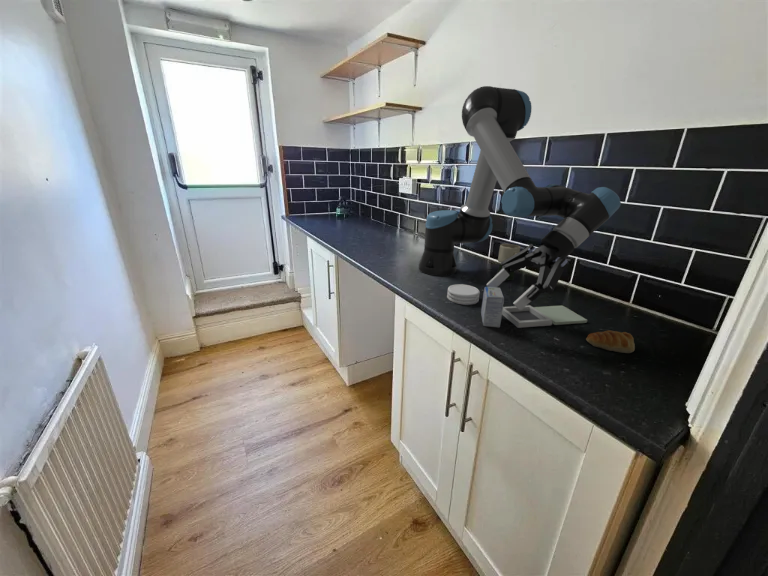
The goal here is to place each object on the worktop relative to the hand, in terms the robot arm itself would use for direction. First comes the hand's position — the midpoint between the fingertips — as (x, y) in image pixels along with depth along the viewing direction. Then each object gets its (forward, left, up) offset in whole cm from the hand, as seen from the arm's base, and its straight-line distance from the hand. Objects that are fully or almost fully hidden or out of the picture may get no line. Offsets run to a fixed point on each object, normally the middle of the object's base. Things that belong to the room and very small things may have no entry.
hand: (501, 296), depth 86 cm
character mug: (-33, +21, -8) cm, 40 cm away
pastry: (+16, +21, -8) cm, 27 cm away
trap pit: (-1, +9, -7) cm, 11 cm away
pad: (-1, +20, -7) cm, 21 cm away
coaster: (-17, -3, -8) cm, 19 cm away
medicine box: (-1, -2, -8) cm, 8 cm away
